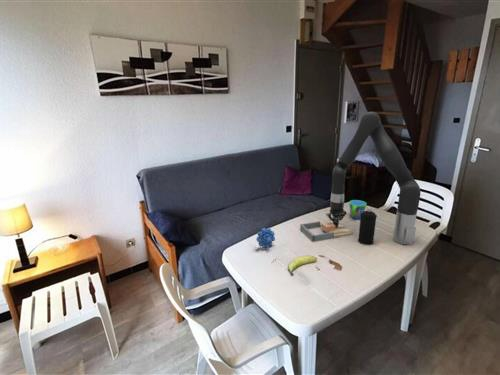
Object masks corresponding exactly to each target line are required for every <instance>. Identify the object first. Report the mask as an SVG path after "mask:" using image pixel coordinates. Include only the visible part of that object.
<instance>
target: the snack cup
mask: <svg viewBox="0 0 500 375" xmlns="http://www.w3.org/2000/svg"><path fill="white" fill-rule="evenodd" d="M348 204H349V211H350V212H349V214H350V217H351V218H353V219H357V220H358V219H359V220H360V218H361V215H360V214H361V213H362V212H364V211H366V207H367V204H368V203H367V202H366V201H363V200H359V199H352V200H349V203H348Z"/></svg>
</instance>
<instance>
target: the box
mask: <svg viewBox="0 0 500 375" xmlns="http://www.w3.org/2000/svg"><path fill="white" fill-rule="evenodd" d="M320 224H321V221H320V220H319V221H314V222H307V223H301V224H300V227H299V228H300V231H301V232H302V233H303V234H304V235H305V236H306V237H307V238H309V240H311V241H312V243H314V242H315V243H316V242H319V241H323V240H324V241H325V240H329V239H330V240H331V239H334V232H329V233H328V232H327V233H326V232H324V233H319V234H318V233H317V234H313V233H312V232H311V231H310V229H311V230H312V229H317V228H321V226H320Z"/></svg>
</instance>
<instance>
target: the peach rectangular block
mask: <svg viewBox="0 0 500 375" xmlns="http://www.w3.org/2000/svg"><path fill="white" fill-rule="evenodd" d="M321 224H322V227H321V230H322V231H323V232H324V233H328V232H332V231H335V225H334V224H333V223H332V221H329V222H325V223H321Z"/></svg>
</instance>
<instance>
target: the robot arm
mask: <svg viewBox="0 0 500 375" xmlns="http://www.w3.org/2000/svg"><path fill="white" fill-rule="evenodd" d="M369 136H370V138H371V140H372V142H373V144H374V147H375V150H376V153H377V154H378V156H379V158H380V160H381V161H382V162H381V163H382V164H383V165H384V167H385V168H386V169H387V170H388V172H389V173H390V174H392V176H393V177H394V179H395V180H396V183H397V185H398V188H399V195H398V201H397V208H396V215H395V221H394V222H395V224H394V229H393V237H392V240H393V241H394V242H395V241H396V242H395V243H397V242H398V243H397V244H400V243H401V245H403V244H404V245H403V246H406V245H405V244H408V245H411V244H410V243H413V244H414V241H415V237H416V231H417V227H416V226H415V225H416V221H417V216H418V215H417V213H418V209H419V205H420V200H421V187H420V185H419V184H418V182H417V180H415V179H414V177H413V176H412V174H411V173H410V171H409V170H408V168H407V164H406V162H405V160H404V158H403V157H402V154H401V152H400V151H399V149H398V147H397V145H396V144H395V142H393V140H392V138H391V137H390V136H389V135H388V133H387V132H386V130H385V127H384V125H383V123H382V121H381V118H380V115H379V114H378V113H377V112H375V111H367V112H365V113H364V114H362V116H361V118H360V121H359V125H358V128H357V129H356V132H355V134H354V135H353V137H352V139H351V140H350V142H349V143H348V145H347V146H346V148H345V150H344V151H343V153H342V154H341V156H340V158H339V160H337V162H336V164H335V165H334V167H333V169H332V173H331V174H332V177H331V178H332V182H331V183H332V184H331V194H330V204H329V207H330V209H329V212H328V213H326V214H325V215H326V216H327V218H328V219H329V220H330V222H333V224H334V225H335V228H336V227H338V224H339V223H340V221H342V220H343V219H344V218H345V217H346V215H347V214H348V212H347V211H345V210H344V205H345V188H346V187H345V182H346V173H347V171H348V169H349V168H350V166H351V165H352V164H353V163H354V162H355V160H356V158H357V156H358V154H359V153H360V151H361V149H362V147H363V146H364V144H365V142H366V141H367V139H368V138H369Z"/></svg>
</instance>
